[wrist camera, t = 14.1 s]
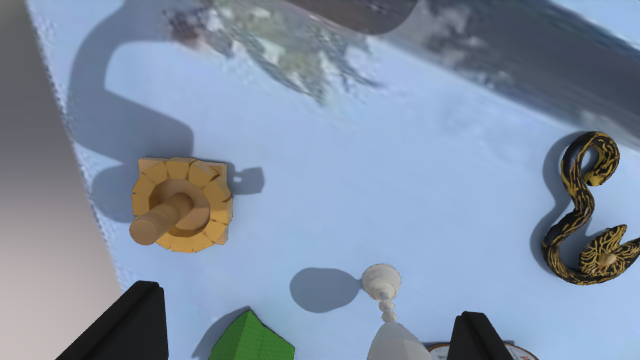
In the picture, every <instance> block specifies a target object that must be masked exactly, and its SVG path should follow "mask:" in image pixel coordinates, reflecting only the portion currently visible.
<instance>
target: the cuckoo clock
mask: <svg viewBox="0 0 640 360" xmlns="http://www.w3.org/2000/svg"><path fill="white" fill-rule="evenodd" d="M294 352H295V347H293V346H292V345H290V344H289V343H287V342H286V341H285V340H283V339H282V338H280V337H279V336H278V335H276V334H275V333H273V332H272V331H271V330H269V329H268V328H266V327H264V326H263V325H262V324H261V323H260V321H259V320H258V319H257V317H256V316H255V315H254V314H253V313H252V312H251V311H250V310H248V311H247V312H245V313H244V314H242V315H241V316H239V317H238V318H237V319H236V320H235V321H234V322H233V323H232V324H230V325H229V327H228V328H227V330H226V331H225V332H224V334H223V335H222V337H221V338H220V339H219V341H218V342H217V343H216V345H215V346H214V347H213V349H212V351H211V354H210V357H209V359H208V360H293V359H294Z"/></svg>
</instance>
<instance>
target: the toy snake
mask: <svg viewBox="0 0 640 360" xmlns="http://www.w3.org/2000/svg"><path fill="white" fill-rule="evenodd" d="M591 146H592V147H594V148H595V149H597V150H598V152H599V159H598V162H597V163H596V164H595V166H594V167H593V168H591V169H590V170H589V171H588V172H587V173H585V175H584V179H582V176H581V171H580V170H581V163H582V159H583V157H584V155H585V153H586V151H587V150H588V149H589V148H590V147H591ZM619 159H620V153H619V150H618V147H617V145H616V144H615V142H614V140H613V139H612V138H611V137H609V136H608V135H607V134H605V133H603V132H598V131H592V132H588V133H586V134H584V135H581V136H580V137H578V138H577V139H576V140H575V141H573V142H572V143H571V144H570V146H569V147H568V148H567V150H566V152H565V154H564V156H563V159H562V161H561V178H562V181H563V184H564V186H565V188H566V190H567V192H568V193H569V195H570V196H571V198H572V200H573V202H574V205H575V208H574V210H573V212H571V213H568V214H567V215H566V216H565V217H563V218H562V219H561V220H560V221H559V223H558V224H556V225H554V226H552V227H551V228H550V229H549V231H548V232H547V235H546V236H545V238H544V240H543V243H542V245H541V251H542V255H543V257H544V260H545V261H546V263H547V265H548V266H549V268H550V269H551V270H552V271H553V272H554V273H555V274H556V275H557V276H559V277H560V278H561V279H564V280H565V281H566V282H569V283H573V284H576V285H591V284H596V283H603V282H606V281H608V280H611V279H614V278H616V277H618V276H619V275H620V274H621V273H623V272H624V271H625V270H626V269H627V268H628V267H630V266H631V265H632V264H633V263H634V262H635V260H636V259H637V258H638V257H639V255H640V237H639V238H637V239H634V240H631V241H628V242H626V243H624V244H622V245H619V242H620V240H621V239H622V236H623V235H624V233H625V231H626V228H627V225H625V224H623V225H618V226H615V227H613V228H607V229H606V231H605V232H603V233H602V234H600V235H599V236H597V237H596V238H594V239H593V240H591V241H590V242H589V243H588V244H587V245H586V246H585V247H584V248H583V250H582V251H581V252H580V255H579V263H578V265H579V268H580V270H572V269H569V268H567V267H566V266H565V265H564V264H563V262H562V260H561V258H560V256H559V245H560V244H561V243H562V241H564V240H565V239H566V238H567V237H568V236H570V235H571V234H572V233H574V232H575V231H576V230H577V229H579V228H580V227H581V226H582V225H584V224H585V223H586V222H587V221H588V220H589V218H590V217H591V215H592V213H593V210H594V206H595V204H594V198H593V196H592V194H591V192H590V191H589V189H588V188H587V186H586V184H587V185H589V186H598V185H602V184H603V183H604V182H605V181H606V180H608V179H609V178H610V177H611V176H612V174H613V173H614V172H615V170H616V168H617V166H618V164H619ZM583 180H584V181H583ZM584 182H585V183H586V184H585V183H584Z"/></svg>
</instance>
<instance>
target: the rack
mask: <svg viewBox="0 0 640 360" xmlns="http://www.w3.org/2000/svg"><path fill="white" fill-rule="evenodd" d="M164 160H166V158H154V157H143V158H141V159H138V165H139V176H140V174H141V173H142V172H144V170H146V169H148V168H150V167H152V166H154V165H156V164H158V163H160V162H162V161H164ZM202 162H203V161H202ZM203 163H205V164H207V165H208V166H210V167H211V168H213V169H214V170H216V171H217V172H219V173H218V175H217V176H219V175H221V176H222V178H223V179H224V181H225V183H226V185H227V163H215V162H203ZM217 176H216V177H217ZM158 204H159V205H157V206H156V207H154V208H153V209H151V210H150V211H148V212H147V213H145V214H144V215H142V216H140V217H139V218H137V219H136V220H134V221H133V222H132V223H131V225H130V229H129V231H130V235H131V237H132V238H133V240H134V241H135V242H137V243H139V244H141V245H151V244H153V243H155V242H156V241H157V240H158V239H159V238H161V237H162V236H163V235H164V234H165V233H166V232H168V231H169V230H170V229H171V228H172V227H174V226H176V227H178V228H179V229H184V230H194V231H196V230H198V229H201V228H203V227H205V226H206V225H207V224H208V222H209V220H210V203H209V201H208V200H207V198H206V196H205V195H204V193H203V191H202V190H201V189H200V188H198V187H197V186H195V185H194V184H192V183H191V182H189V181H187V180H182V179H171V178H170V179H168V180H165V181H164V183H163V184H162V186H161V188H160V190H159V191H158ZM227 240H228V227H227V228H226V230H225V231H224V233H223V234H222V236H221V237H220V238H219V240H218V241H217V242H216V243H214V244H221V245H224V244H225V243H226V241H227Z"/></svg>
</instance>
